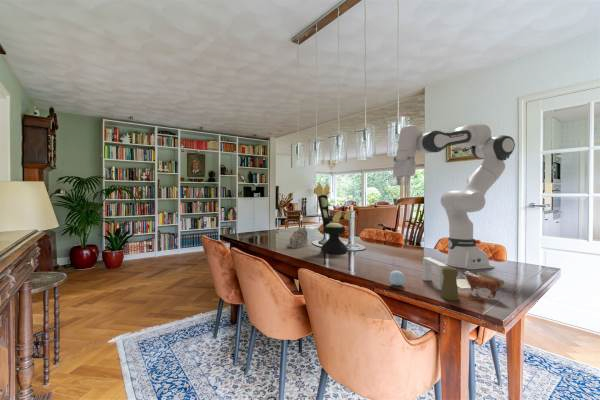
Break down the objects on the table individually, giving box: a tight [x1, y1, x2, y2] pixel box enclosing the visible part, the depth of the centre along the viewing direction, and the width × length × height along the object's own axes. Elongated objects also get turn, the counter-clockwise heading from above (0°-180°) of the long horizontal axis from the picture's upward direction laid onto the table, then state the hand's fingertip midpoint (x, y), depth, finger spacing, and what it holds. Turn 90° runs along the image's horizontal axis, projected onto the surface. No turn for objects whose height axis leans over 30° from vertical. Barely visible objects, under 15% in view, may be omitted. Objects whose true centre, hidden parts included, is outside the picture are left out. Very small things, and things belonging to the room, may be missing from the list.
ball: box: [388, 270, 405, 286], centre depth 126 cm, size 6×6×6 cm
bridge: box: [422, 256, 449, 291], centre depth 127 cm, size 3×15×10 cm, turn 3°
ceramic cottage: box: [287, 225, 309, 249], centre depth 217 cm, size 16×16×15 cm
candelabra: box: [314, 181, 353, 255], centre depth 194 cm, size 19×22×45 cm
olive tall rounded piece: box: [440, 266, 460, 301], centre depth 112 cm, size 6×6×11 cm
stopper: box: [476, 271, 505, 290], centre depth 129 cm, size 2×14×3 cm, turn 4°
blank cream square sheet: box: [456, 278, 471, 290], centre depth 128 cm, size 12×12×1 cm
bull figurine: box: [462, 270, 500, 301], centre depth 114 cm, size 4×13×8 cm, turn 32°
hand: (402, 185), depth 153 cm, fingers open, 8 cm apart
